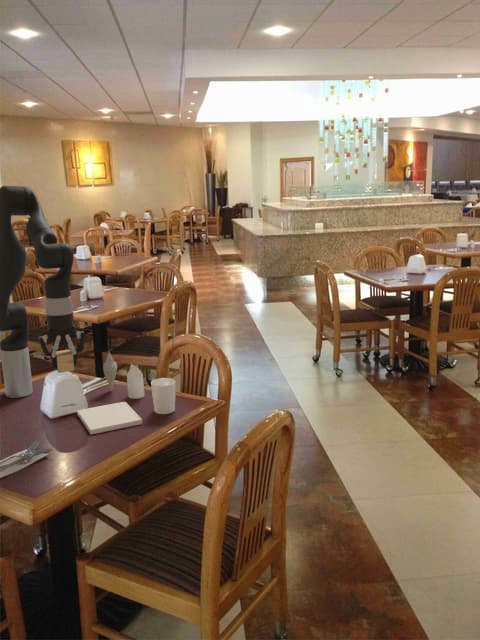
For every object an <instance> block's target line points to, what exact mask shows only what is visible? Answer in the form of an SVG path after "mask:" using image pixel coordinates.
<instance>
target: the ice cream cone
mask: <svg viewBox="0 0 480 640" xmlns="http://www.w3.org/2000/svg"><path fill="white" fill-rule="evenodd" d="M102 368H103V369H102V371H103V373H104V376H105V380H106V382H107V384H108V387H109V390H110V391H111V392H113V390H114V385H115V381H116V375H117V372H118V371H117V370H118V364H117V362H116V361H114V357H113V356H112V354H111V353H110V351H108V352H107V356H106V359H105V362H104V363H103V367H102Z"/></svg>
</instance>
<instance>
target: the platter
mask: <svg viewBox="0 0 480 640" xmlns="http://www.w3.org/2000/svg"><path fill="white" fill-rule="evenodd" d="M76 412H77V413H76V414H77V417H79V419H80V420H81V422H82V424H83V425H84V427H85V429H87V431H88V432H89V434H90V435H94V434H95V435H96V434H101V433H105V432H110V431H114V430H119V429H120V430H121V429H124V428H128V427H134V426H139V425H143V419H142V417H140V415H139V414H137V413H136V411H134V409H133V408H132V407H131V406H130V405H129V404H128V403H127V402H126V401H120V402H115V403H110V404H105V405H100V406H99V405H98V406H94V407H93V406H92V407H89V408H83V409H78V410H76Z"/></svg>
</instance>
